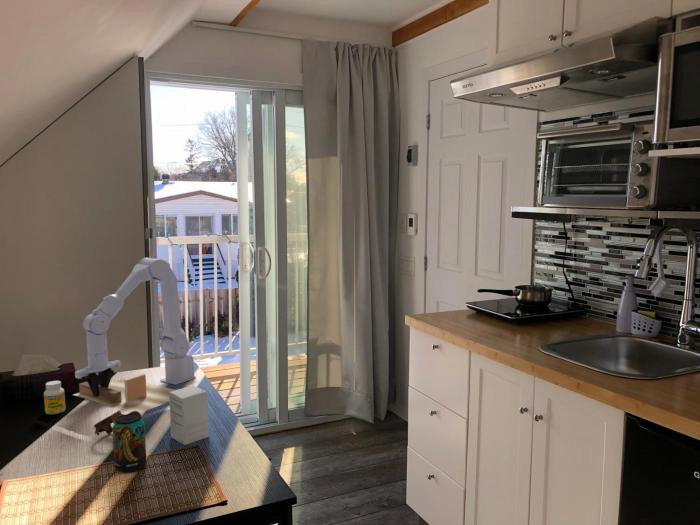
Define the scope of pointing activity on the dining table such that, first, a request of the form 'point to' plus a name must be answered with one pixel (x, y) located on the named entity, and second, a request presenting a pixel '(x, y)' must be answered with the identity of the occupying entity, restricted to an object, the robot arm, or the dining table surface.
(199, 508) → the dining table surface
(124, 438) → the beverage can
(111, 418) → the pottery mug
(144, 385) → the tile
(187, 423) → the supplement box
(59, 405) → the supplement bottle
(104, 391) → the brown wooden bar
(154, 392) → the board
